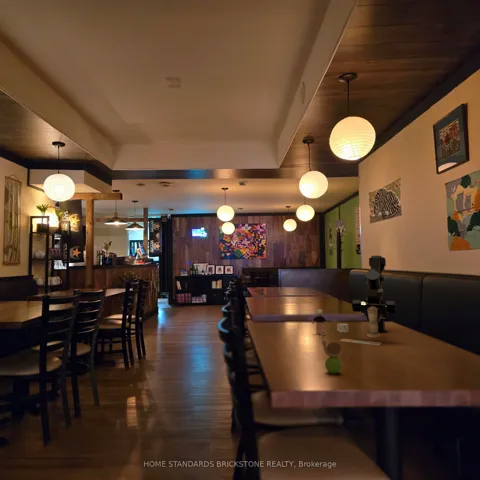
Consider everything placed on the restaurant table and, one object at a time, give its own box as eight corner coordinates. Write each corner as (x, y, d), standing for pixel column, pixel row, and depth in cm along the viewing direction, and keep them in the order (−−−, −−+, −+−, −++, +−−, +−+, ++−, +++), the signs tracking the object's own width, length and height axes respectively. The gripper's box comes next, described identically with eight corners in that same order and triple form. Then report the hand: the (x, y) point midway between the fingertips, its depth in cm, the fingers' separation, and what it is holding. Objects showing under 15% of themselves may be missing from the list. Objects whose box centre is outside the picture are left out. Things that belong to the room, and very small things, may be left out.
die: (342, 330, 202) (342, 322, 203) (348, 332, 199) (348, 323, 199) (336, 331, 200) (336, 323, 200) (343, 332, 197) (342, 324, 197)
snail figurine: (320, 371, 128) (319, 334, 129) (338, 370, 128) (338, 334, 129) (325, 376, 123) (324, 338, 123) (344, 375, 123) (343, 337, 124)
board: (383, 343, 169) (383, 342, 170) (379, 346, 164) (379, 345, 164) (342, 339, 180) (342, 338, 180) (337, 342, 174) (337, 340, 174)
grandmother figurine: (327, 334, 193) (326, 308, 194) (328, 335, 189) (327, 309, 190) (311, 333, 194) (311, 308, 194) (312, 335, 190) (311, 309, 191)
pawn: (372, 334, 172) (371, 305, 173) (382, 336, 168) (381, 306, 168) (364, 335, 169) (364, 306, 170) (374, 337, 165) (373, 307, 166)
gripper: (351, 282, 177) (349, 309, 166) (394, 283, 170) (395, 311, 159) (354, 297, 184) (351, 324, 173) (395, 299, 177) (396, 327, 166)
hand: (372, 321), depth 168 cm, fingers closed on pawn, 4 cm apart
